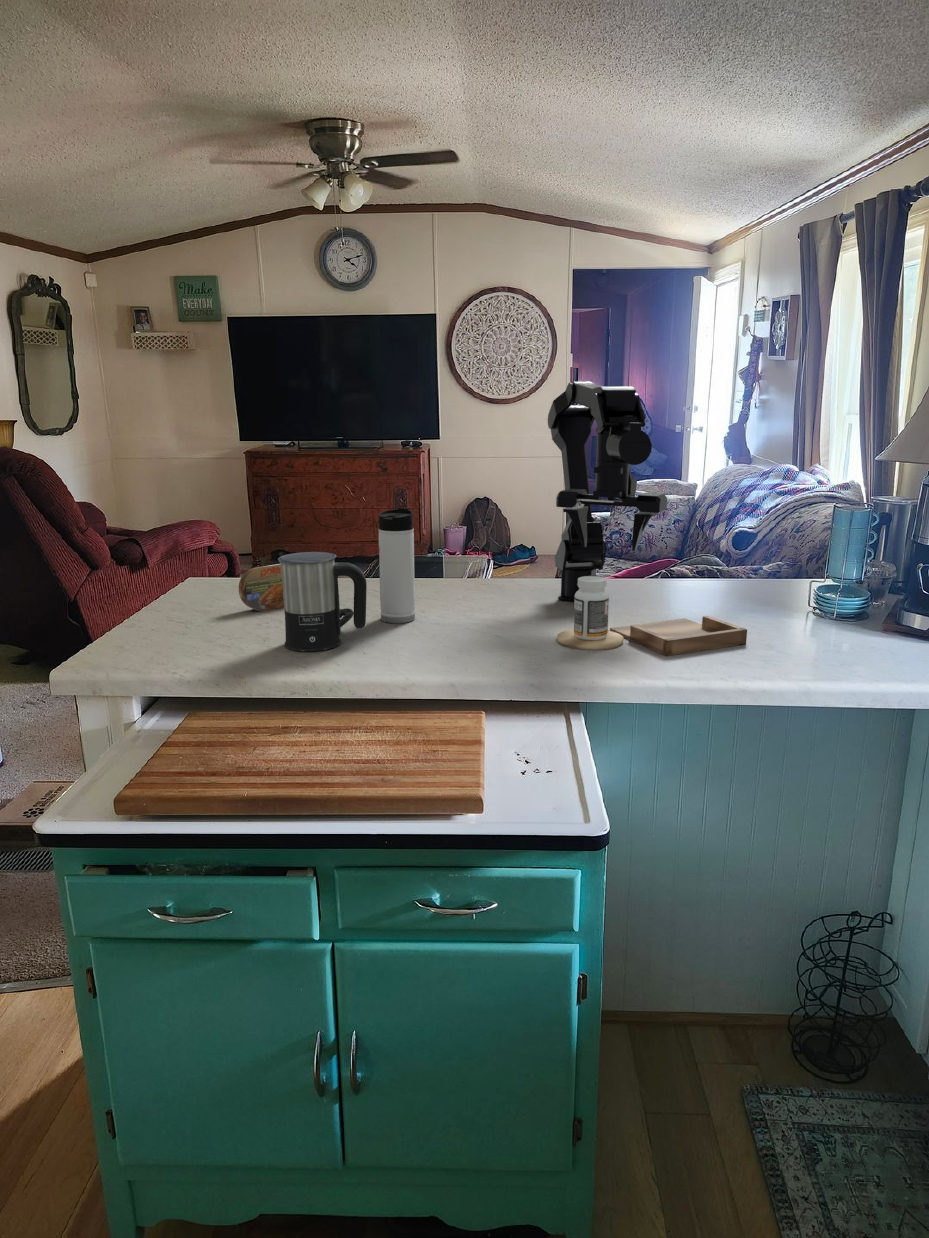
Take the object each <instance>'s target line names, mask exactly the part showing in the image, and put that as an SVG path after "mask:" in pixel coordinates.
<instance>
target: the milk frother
mask: <svg viewBox="0 0 929 1238" xmlns="http://www.w3.org/2000/svg"><path fill="white" fill-rule="evenodd" d="M336 558H337V555H336V554H335V553H332V552H325V551H308V552H307V551H305V552H303V551H302V552H295V553H293V552H292V553H288V554H285V555H284V554H283V555H281V556H280V557H278V558H277V561H278V562H279V564H281V570H282V583H283V598H284V607H283V608H284V609H283V610H284V628H285V642H284V647H285V648H286V649H288V650H291V651H296V652H305V653H306V652H320V651H326V650H331V649H333V648H335V647H337V646H339V645H341V642H342V639H341V638H340V635H341V633H342V630H341V627H343V626H344V625H346V624H347V623H348V622H349V621H350V620H351V619H352V618H353V625H354V628H355V629H358V630H360V629H363V628H365V626H366V622H367V621H366V620H367V586H368V584H367V578H366V576H365V573H364V572H363V570H361V568H360V567H358V566H357V565H356V564H353V563H351V562H335V559H336ZM344 576H345V577H349V578H350V579H351V580H352V582H353V609H351V608H346V607H345V608H340V605H341V604H340V593H339V577H344Z"/></svg>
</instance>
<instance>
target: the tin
mask: <svg viewBox="0 0 929 1238" xmlns="http://www.w3.org/2000/svg"><path fill="white" fill-rule="evenodd" d="M238 594H239V598H240V600H241V602H242V603H243V604H244V605H246V606H247V607H248V608H250V609H253V610H255V611H257V612H258V611H259V612H264V611H270V610H276V609H281V608H284V598H283V583H282V570H281V564H280V563H276V564H271V565H269V564H268V565H264V566H256V567H252V568H250V569H248V570H246V571H245V572H244V573H243V575H242V576H241V578H240V580H239V583H238Z"/></svg>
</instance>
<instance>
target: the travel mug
mask: <svg viewBox="0 0 929 1238" xmlns="http://www.w3.org/2000/svg"><path fill="white" fill-rule="evenodd" d="M377 516H378V524H379V525H378V556H379V557H378V559H379V562H378V564H379V566H378V567H379V595H380V596H379V598H380V600H379V602H380V603H379V605H380V619H381V621H382V622H385V623H386V624H387V623H388V624H404V623H405V624H407V623H411V622H413V621H414V620H415V619H416V611H415V610H416V606H415V605H416V599H415V598H416V597H415V596H416V592H415V591H416V590H415V586H416V585H415V536H414V535H415V534H414V533H415V532H414V529H415V528H414V512H413V510H410V508H408V507H398V509H396V508H395V509H389V510H384V511H381V512H379V513H378V515H377Z"/></svg>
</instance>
